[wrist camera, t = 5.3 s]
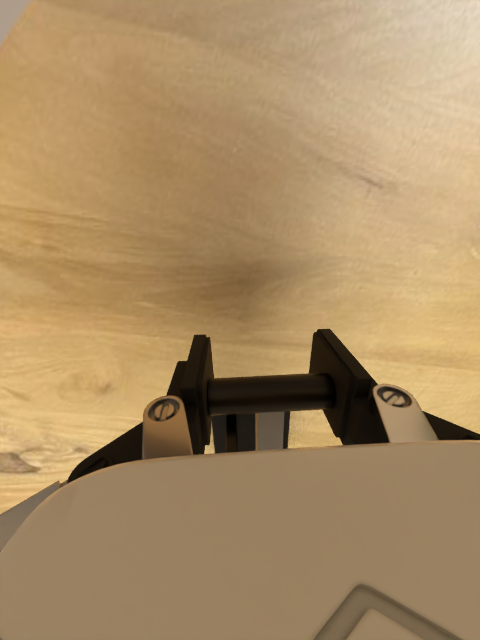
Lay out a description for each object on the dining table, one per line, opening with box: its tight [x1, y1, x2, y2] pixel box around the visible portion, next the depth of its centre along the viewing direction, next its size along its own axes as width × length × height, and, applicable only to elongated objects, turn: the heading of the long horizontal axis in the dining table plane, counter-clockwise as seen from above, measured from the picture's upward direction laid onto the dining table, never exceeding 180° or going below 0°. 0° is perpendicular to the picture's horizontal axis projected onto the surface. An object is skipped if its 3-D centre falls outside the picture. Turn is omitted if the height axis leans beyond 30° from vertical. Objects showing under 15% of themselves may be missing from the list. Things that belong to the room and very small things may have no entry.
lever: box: [207, 373, 336, 451], centre depth 13 cm, size 16×5×2 cm, turn 2°
